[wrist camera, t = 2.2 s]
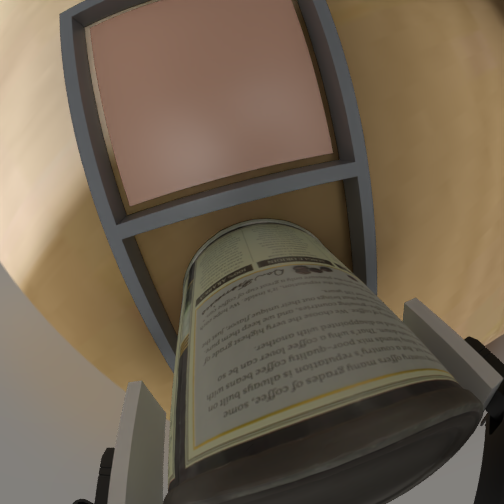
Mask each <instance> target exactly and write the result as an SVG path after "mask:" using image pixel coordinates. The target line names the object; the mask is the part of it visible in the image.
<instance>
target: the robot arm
mask: <svg viewBox="0 0 504 504" xmlns="http://www.w3.org/2000/svg"><path fill="white" fill-rule="evenodd" d="M403 323H404V324H405V325H406V326H407V327H408V328H409V329H410V330H411V331H412V332H413V333H414V334H415V335H416V337H417V338H418V339H419V340H420V341H421V342H422V343H423V344H424V345H425V346H426V347H427V348H428V349H429V350H430V352H431V353H432V354H433V355H434V356H435V357H436V358H437V359H438V360H439V361H440V363H441V364H442V365H443V366H444V367H445V368H446V369H447V370H448V372H449V373H450V374H451V375H452V376H453V377H454V378H455V380H456V381H457V382H458V383H459V384H460V386H461V387H462V388H463V389H467V390H470V391H471V392H472V393H473V394H474V395H475V396H476V397H477V398H478V399H479V400H480V401H481V403H482V404H483V406H484V410H486V411H487V412H488V413H487V414H486V416H485V417H484V419H483V420H482V422H481V425H480V426H482V425H483V424H484V423H485V421H486V424H485V426H486V430H485V442H484V451H483V460H482V467H481V472H480V478H479V483H478V488H477V492H476V496H475V501H474V504H504V364H503V363H502V362H501V361H500V360H499V359H498V358H497V357H496V356H495V355H493V354H492V353H491V352H490V351H489V350H488V349H487V348H485V346H484V345H483V344H482V343H481V342H479V341H478V340H476V339H474V338H472V337H467V338H466V339H462V338H461V337H460V336H459V335H458V334H457V333H456V332H455V331H454V330H453V329H451V328H450V327H449V326H448V325H447V324H446V323H445V322H444V321H442V320H441V319H440V318H439V317H438V316H437V315H436V314H434V313H433V312H432V311H431V310H430V309H429V308H428V307H426V306H425V305H424V304H423V303H422V302H420V301H419V300H418V299H417V298H414V299H412V300H410V301H407V302H405V303H404V313H403ZM165 421H166V412H165V411H164V410H163V409H162V407H161V406H160V405H159V403H158V402H157V401H156V400H155V398H154V397H153V395H152V394H151V393H150V391H149V390H148V389H147V387H146V386H145V384H144V383H143V382H142V381H136V382H129V383H128V387H127V391H126V395H125V400H124V404H123V409H122V413H121V419H120V423H119V428H118V434H117V440H116V445H115V448H107V449H106V451H105V452H104V454H103V456H102V459H101V464H100V467H101V468H100V470H99V477H98V483H97V490H96V497H95V503H94V504H163V459H164V438H165ZM73 504H93V503H91V502H90V501H88V500H85V499H79V500H76V501H75V502H74V503H73Z"/></svg>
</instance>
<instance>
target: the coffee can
mask: <svg viewBox="0 0 504 504" xmlns="http://www.w3.org/2000/svg"><path fill="white" fill-rule="evenodd" d="M172 389H173V390H172V404H171V414H170V434H169V457H168V494H167V495H166V497H165V499H164V501H163V504H386V503H388V502H390V501H392V500H394V499H396V498H397V497H399V496H401V495H403V494H404V493H406V492H408V491H409V490H411V489H412V488H413V487H415V486H416V485H418V484H420V483H421V482H422V481H424V480H425V479H426V478H428V477H429V476H431V475H432V474H433V473H434V472H435V471H437V470H438V469H439V468H440V467H442V466H443V465H444V464H445V463H446V462H447V461H448V460H449V459H450V458H451V457H453V456H454V455H455V454H456V452H457V451H458V450H460V448H461V447H462V446H463V445H464V444H465V443H466V441H467V440H468V439H469V437H470V436H471V435H472V434H473V433H474V431H475V429H476V428H477V426H478V424H479V422H480V420H481V418H482V416H483V412H484V406H483V404H482V403H481V401H480V400H479V399H478V398H477V397H476V396H475V395H474V394H473V393H472V392H471V391H470V390H467V389H463V388H462V387H461V386H460V384H459V383H458V382H457V381H456V380H455V378H454V377H453V376H452V375H451V374H450V373H449V372H448V370H447V369H446V368H445V367H444V366H443V365H442V364H441V363H440V361H439V360H438V359H437V358H436V357H435V356H434V355H433V354H432V353H431V352H430V350H429V349H428V348H427V347H426V346H425V345H424V344H423V343H422V342H421V341H420V340H419V339H418V338H417V337H416V335H415V334H414V333H413V332H412V331H411V330H410V329H409V328H408V327H407V326H406V325H405V324H404V323H403V322H402V321H401V320H400V319H399V318H398V317H397V316H396V315H395V314H394V313H393V312H392V311H391V310H390V309H389V308H388V307H387V306H386V305H385V304H384V303H383V302H382V301H381V300H380V299H379V298H378V297H377V296H376V295H375V294H374V293H373V292H372V291H371V290H370V289H369V288H368V287H367V286H366V285H365V284H364V283H363V282H362V281H361V280H360V279H359V278H358V277H356V276H355V275H354V274H353V273H352V272H351V271H350V270H349V269H348V268H347V267H346V266H345V265H344V264H343V263H342V262H341V261H340V260H338V259H337V258H336V257H335V256H334V255H333V254H332V253H331V252H330V251H329V250H328V249H326V248H325V247H324V245H323V244H322V243H321V242H320V241H319V240H318V239H317V238H316V237H315V236H314V235H313V234H312V233H310V232H309V231H307V230H306V229H304V228H302V227H300V226H298V225H296V224H293V223H291V222H288V221H284V220H276V219H254V220H249V221H245V222H241V223H238V224H235V225H233V226H231V227H229V228H226V229H224V230H222V231H220V232H218V233H217V234H216V235H215V236H214V237H212V238H211V239H209V240H208V241H207V242H206V243H205V244H204V245H203V246H202V247H201V248H200V249H199V250H198V252H197V253H196V254H195V256H194V257H193V259H192V261H191V262H190V264H189V266H188V269H187V271H186V274H185V278H184V284H183V300H182V308H181V316H180V323H179V332H178V340H177V349H176V358H175V368H174V379H173V387H172Z"/></svg>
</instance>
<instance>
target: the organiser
mask: <svg viewBox="0 0 504 504" xmlns="http://www.w3.org/2000/svg"><path fill="white" fill-rule="evenodd" d="M147 1H150V0H85V1H83V2H81V3H79V4H77V5H75V6H74V7H72V8H70V9H68V10H66V11H64V12H63V13H61V14H60V37H61V51H62V61H63V70H64V78H65V85H66V91H67V97H68V103H69V108H70V114H71V119H72V123H73V128H74V132H75V137H76V141H77V145H78V149H79V153H80V157H81V161H82V164H83V168H84V171H85V175H86V178H87V182H88V185H89V188H90V191H91V194H92V198H93V201H94V204H95V207H96V210H97V212H98V215H99V218H100V221H101V224H102V226H103V229H104V232H105V234H106V237H107V240H108V242H109V245H110V247H111V250H112V252H113V255H114V257H115V259H116V262H117V264H118V267H119V269H120V271H121V273H122V276H123V278H124V280H125V282H126V285H127V287H128V289H129V291H130V293H131V295H132V297H133V300H134V302H135V304H136V306H137V308H138V310H139V312H140V314H141V316H142V318H143V320H144V322H145V324H146V325H147V327H148V329H149V331H150V333H151V335H152V337H153V339H154V340H155V342H156V344H157V346H158V348H159V349H160V351H161V353H162V355H163V356H164V358H165V360H166V362H167V363H168V365H169V367H170V368H171V370H172V372H173V373H174V368H175V358H176V349H177V340H178V337H177V335H176V333H175V331H174V329H173V326H172V324H171V322H170V320H169V318H168V316H167V314H166V312H165V310H164V307H163V305H162V303H161V301H160V298H159V296H158V294H157V292H156V289H155V287H154V285H153V282H152V280H151V278H150V275H149V273H148V271H147V268H146V266H145V263H144V261H143V258H142V256H141V253H140V250H139V248H138V245H137V243H136V240H135V237H134V235H137V234H140V233H143V232H146V231H149V230H153V229H156V228H159V227H162V226H165V225H169V224H172V223H175V222H179V221H182V220H185V219H189V218H192V217H196V216H199V215H202V214H206V213H209V212H213V211H217V210H220V209H224V208H227V207H231V206H235V205H239V204H242V203H246V202H250V201H254V200H258V199H261V198H265V197H269V196H273V195H277V194H281V193H285V192H290V191H294V190H298V189H302V188H306V187H311V186H315V185H320V184H324V183H328V182H333V181H338V180H342V179H343V183H344V190H345V197H346V204H347V212H348V220H349V229H350V239H351V250H352V262H353V274H354V275H355V276H356V277H358V278H359V279H360V280H361V281H362V282H363V283H364V284H365V285H366V286H367V287H368V288H369V289H370V290H371V291H372V292H373V293H374V294H375V295H376V296H377V257H376V236H375V221H374V209H373V199H372V190H371V181H370V174H369V166H368V160H367V153H366V147H365V141H364V135H363V130H362V125H361V120H360V115H359V110H358V106H357V101H356V97H355V93H354V88H353V84H352V80H351V77H350V73H349V69H348V66H347V62H346V59H345V55H344V52H343V49H342V45H341V42H340V39H339V36H338V33H337V30H336V27H335V24H334V21H333V19H332V16H331V13H330V11H329V8H328V5H327V3H326V0H297V1H298V4H299V7H300V10H301V12H302V15H303V18H304V21H305V24H306V27H307V30H308V33H309V36H310V39H311V42H312V45H313V49H314V52H315V55H316V59H317V62H318V66H319V69H320V73H321V77H322V80H323V84H324V88H325V92H326V96H327V100H328V104H329V109H330V113H331V118H332V122H333V127H334V132H335V137H336V142H337V147H338V153H339V158H340V160H334V161H329V162H324V163H319V164H314V165H309V166H305V167H300V168H295V169H291V170H286V171H282V172H277V173H273V174H269V175H265V176H261V177H257V178H253V179H249V180H245V181H241V182H237V183H233V184H229V185H226V186H222V187H218V188H215V189H211V190H208V191H204V192H201V193H197V194H194V195H190V196H187V197H184V198H180V199H177V200H174V201H171V202H167V203H164V204H161V205H158V206H155V207H152V208H149V209H146V210H143V211H140V212H137V213H134V214H131V215H128V216H127V215H126V212H125V209H124V206H123V203H122V200H121V197H120V194H119V191H118V188H117V184H116V181H115V178H114V174H113V171H112V168H111V164H110V161H109V157H108V153H107V150H106V146H105V142H104V138H103V134H102V130H101V126H100V121H99V117H98V112H97V108H96V103H95V98H94V93H93V87H92V82H91V76H90V70H89V63H88V56H87V49H86V40H85V31H84V27H86V26H88V25H90V24H92V23H94V22H96V21H98V20H101V19H103V18H105V17H107V16H110V15H112V14H114V13H117V12H119V11H122V10H124V9H127V8H130V7H132V6H135V5H138V4H141V3H144V2H147ZM90 32H91V41H92V49H93V56H94V62H95V69H96V75H97V80H98V86H99V91H100V96H101V101H102V106H103V110H104V115H105V119H106V123H107V128H108V132H109V136H110V140H111V143H112V147H113V151H114V155H115V158H116V162H117V165H118V169H119V172H120V176H121V179H122V182H123V186H124V189H125V192H126V195H127V198H128V201H129V204H130V206H133V205H136V204H139V203H142V202H145V201H147V200H150V199H154V198H157V197H160V196H163V195H166V194H169V193H172V192H175V191H179V190H182V189H185V188H189V187H192V186H195V185H199V184H202V183H206V182H209V181H213V180H216V179H220V178H224V177H228V176H231V175H235V174H239V173H243V172H247V171H251V170H255V169H259V168H263V167H268V166H272V165H276V164H281V163H285V162H290V161H295V160H299V159H304V158H309V157H314V156H320V155H325V154H330V153H333V150H332V145H331V140H330V135H329V130H328V125H327V121H326V116H325V112H324V108H323V103H322V99H321V95H320V91H319V87H318V83H317V79H316V76H315V72H314V68H313V65H312V61H311V58H310V54H309V51H308V48H307V44H306V41H305V38H304V35H303V32H302V29H301V26H300V23H299V20H298V17H297V14H296V11H295V9H294V6H293V3H292V0H161V1H157V2H154V3H151V4H148V5H145V6H142V7H139V8H136V9H133V10H131V11H128V12H125V13H123V14H120V15H118V16H115V17H113V18H111V19H108V20H106V21H104V22H101V23H99V24H97V25H95V26H93V27H91V28H90Z"/></svg>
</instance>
